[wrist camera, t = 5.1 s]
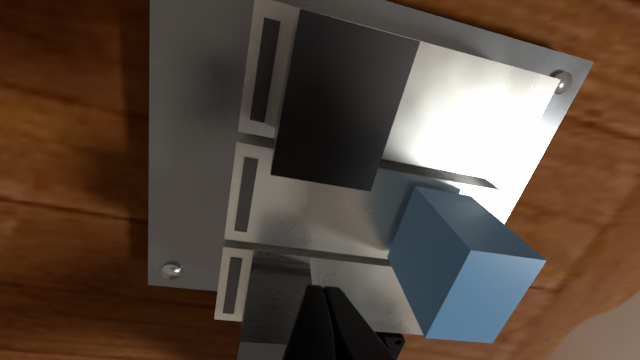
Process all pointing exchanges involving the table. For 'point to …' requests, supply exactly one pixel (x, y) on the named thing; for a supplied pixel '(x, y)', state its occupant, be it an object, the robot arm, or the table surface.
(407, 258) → the blue toggle
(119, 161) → the table surface
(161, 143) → the breaker board
